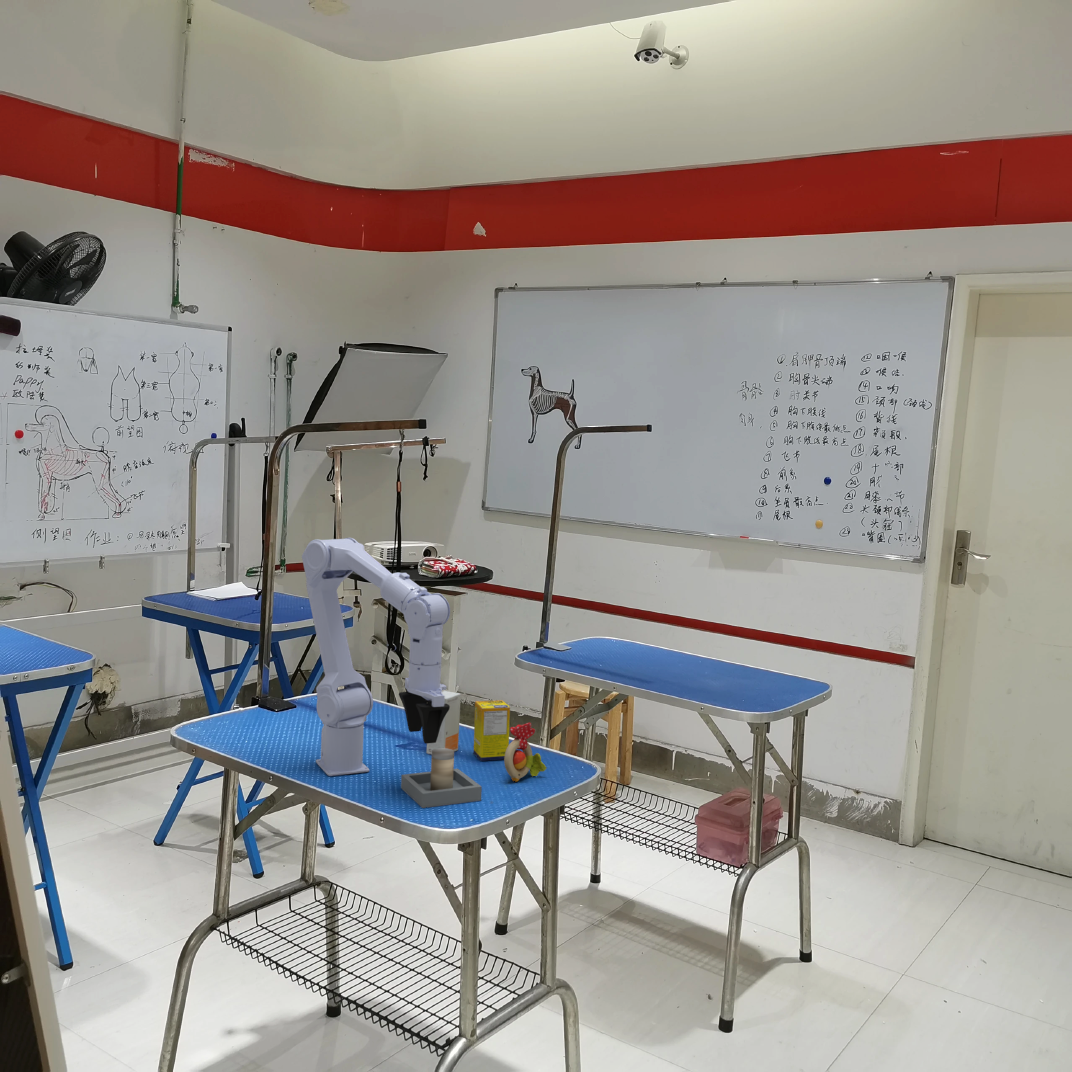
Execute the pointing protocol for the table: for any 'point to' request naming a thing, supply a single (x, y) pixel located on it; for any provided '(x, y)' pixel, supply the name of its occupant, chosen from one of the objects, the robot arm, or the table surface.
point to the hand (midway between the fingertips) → (422, 736)
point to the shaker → (442, 769)
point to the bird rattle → (522, 754)
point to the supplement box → (491, 729)
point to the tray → (421, 793)
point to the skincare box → (448, 724)
